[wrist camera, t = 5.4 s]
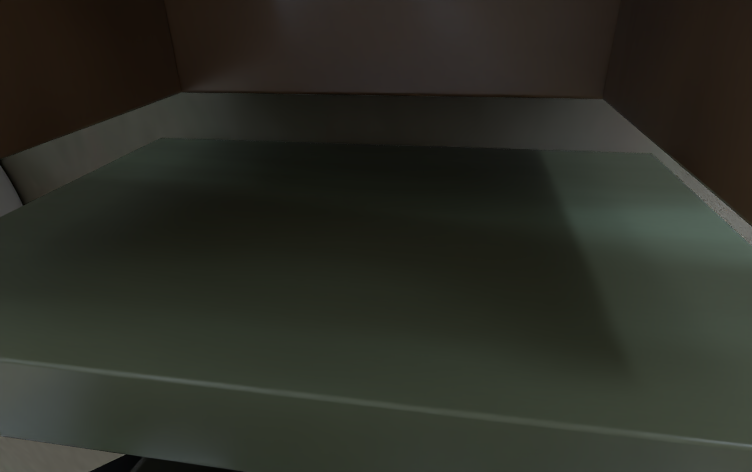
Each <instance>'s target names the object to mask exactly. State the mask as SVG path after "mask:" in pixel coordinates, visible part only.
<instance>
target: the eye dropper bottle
mask: <svg viewBox="0 0 752 472" xmlns="http://www.w3.org/2000/svg"><path fill="white" fill-rule="evenodd" d="M22 206H23V205H22V202H21V200H20V198H19V196H18V194H17V192H16V190H15V188H14V187H13V185H12V183H11V181H10V180H9V178H8V177H7V175H6V173H5V172H4V170H3V169H2V167H1V166H0V217H1V216H3V215H5V214H7V213H9V212H11V211H13V210H16V209H18V208H20V207H22Z"/></svg>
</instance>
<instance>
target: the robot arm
mask: <svg viewBox="0 0 752 472" xmlns="http://www.w3.org/2000/svg"><path fill="white" fill-rule="evenodd" d="M90 472H244V471H237V470H230V469H223V468H216V467H209V466H202V465H196V464H189V463H182V462H175V461H168V460H161V459H155V458H148V457H141V456H134V455H127V454H126V455H124V456H122V457H120V458H118V459H116V460H114V461H111V462H109V463H107V464H105V465H103V466H101V467H99V468H96V469H94V470H92V471H90Z"/></svg>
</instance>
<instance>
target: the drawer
mask: <svg viewBox="0 0 752 472" xmlns="http://www.w3.org/2000/svg"><path fill="white" fill-rule="evenodd" d="M180 92H187V93H251V94H315V95H379V96H442V97H506V98H570V99H603V100H605V101H606V102H607V103H608V104H609V105H610V106H612V107H613V108H614V109H615V110H616V111H617V112H619V113H620V114H621V115H622V116H623V117H624V118H626V119H627V120H628V121H629V122H630V123H631V124H633V125H634V126H635V127H636V128H637V129H639V130H640V131H641V132H642V133H643V134H644V135H646V136H647V137H648V138H649V139H650V140H651V141H653V142H654V143H655V144H656V145H657V146H658V147H660V148H661V149H662V150H663V151H664V152H665V153H667V154H668V155H669V156H670V157H671V158H672V159H674V160H675V161H676V162H677V163H678V164H679V165H681V166H682V167H683V168H684V169H685V170H686V171H688V172H689V173H690V174H691V175H692V176H694V177H695V178H696V179H697V180H698V181H699V182H701V183H702V184H703V185H704V186H705V187H706V188H708V189H709V190H710V191H711V192H712V193H713V194H715V195H716V196H717V197H718V198H719V199H720V200H722V201H723V202H724V203H725V204H726V205H727V206H729V207H730V208H731V209H732V210H733V211H734V212H736V213H737V214H738V215H739V216H740V217H742V218H743V219H744V220H745V221H746V222H747V223H749V224H750V225H751V226H752V0H0V159H3V158H5V157H8V156H11V155H14V154H16V153H19V152H22V151H24V150H27V149H30V148H32V147H35V146H38V145H41V144H43V143H46V142H49V141H51V140H54V139H57V138H60V137H62V136H65V135H68V134H70V133H73V132H76V131H78V130H81V129H84V128H87V127H89V126H92V125H95V124H97V123H100V122H103V121H105V120H108V119H111V118H114V117H116V116H119V115H122V114H124V113H127V112H130V111H133V110H135V109H138V108H141V107H143V106H146V105H149V104H151V103H154V102H157V101H160V100H162V99H165V98H168V97H170V96H173V95H176V94H178V93H180ZM0 436H4V437H11V438H18V439H24V440H31V441H38V442H45V443H52V444H59V445H66V446H72V447H79V448H86V449H93V450H100V451H107V452H113V453H120V454H127V455H134V456H141V457H148V458H155V459H161V460H168V461H175V462H182V463H189V464H196V465H202V466H209V467H216V468H223V469H230V470H237V471H244V472H752V246H751V245H750V244H749V243H748V242H747V241H746V240H745V239H744V238H743V237H741V236H740V235H739V234H738V233H737V232H736V231H735V230H734V229H733V228H732V227H731V226H730V225H728V224H727V223H726V222H725V221H724V220H723V219H722V218H721V217H720V216H719V215H718V214H717V213H716V212H714V211H713V210H712V209H711V208H710V207H709V206H708V205H707V204H706V203H705V202H704V201H703V200H701V199H700V198H699V197H698V196H697V195H696V194H695V193H694V192H693V191H692V190H691V189H690V188H688V187H687V186H686V185H685V184H684V183H683V182H682V181H681V180H680V179H679V178H678V177H677V176H675V175H674V174H673V173H672V172H671V171H670V170H669V169H668V168H667V167H666V166H665V165H664V164H663V163H661V162H660V161H659V160H658V159H657V158H656V157H655V156H654V155H653V154H651V153H622V152H591V151H560V150H528V149H497V148H465V147H434V146H403V145H371V144H340V143H309V142H277V141H246V140H215V139H183V138H160V139H158V140H156V141H154V142H152V143H150V144H148V145H146V146H143V147H141V148H139V149H137V150H135V151H133V152H131V153H129V154H127V155H125V156H123V157H121V158H119V159H117V160H115V161H113V162H111V163H109V164H107V165H105V166H103V167H101V168H99V169H97V170H95V171H93V172H91V173H89V174H87V175H85V176H83V177H81V178H78V179H76V180H74V181H72V182H70V183H68V184H66V185H64V186H62V187H60V188H58V189H56V190H54V191H52V192H50V193H48V194H46V195H44V196H42V197H40V198H38V199H36V200H34V201H32V202H30V203H28V204H26V205H24V206H22V207H20V208H18V209H16V210H13V211H11V212H9V213H7V214H5V215H3V216H1V217H0Z"/></svg>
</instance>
